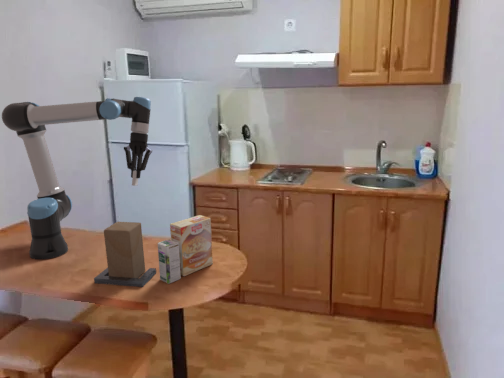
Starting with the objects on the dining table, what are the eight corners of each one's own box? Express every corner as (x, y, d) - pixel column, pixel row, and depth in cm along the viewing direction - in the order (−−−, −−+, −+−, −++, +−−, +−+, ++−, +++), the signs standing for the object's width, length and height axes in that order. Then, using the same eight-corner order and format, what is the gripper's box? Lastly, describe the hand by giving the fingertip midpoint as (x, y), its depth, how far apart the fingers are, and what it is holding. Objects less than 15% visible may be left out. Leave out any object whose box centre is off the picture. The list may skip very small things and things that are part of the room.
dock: (94, 283, 153) (94, 278, 153) (111, 269, 164) (110, 265, 164) (142, 287, 150) (142, 281, 149) (156, 273, 160) (155, 268, 160)
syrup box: (159, 279, 155) (156, 242, 151) (172, 274, 159) (169, 238, 156) (168, 284, 151) (165, 246, 148) (181, 278, 155) (179, 241, 152)
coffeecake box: (183, 276, 157) (180, 227, 152) (172, 271, 162) (168, 223, 157) (213, 264, 167) (211, 217, 163) (202, 259, 172) (199, 214, 168)
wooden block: (133, 283, 153) (128, 231, 148) (108, 281, 155) (102, 229, 150) (145, 271, 162) (141, 222, 158) (122, 269, 164) (117, 221, 160)
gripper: (156, 134, 189) (151, 186, 191) (129, 132, 191) (125, 183, 193) (149, 133, 181) (144, 187, 183) (121, 130, 184) (117, 184, 186)
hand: (134, 185), depth 188 cm, fingers closed
